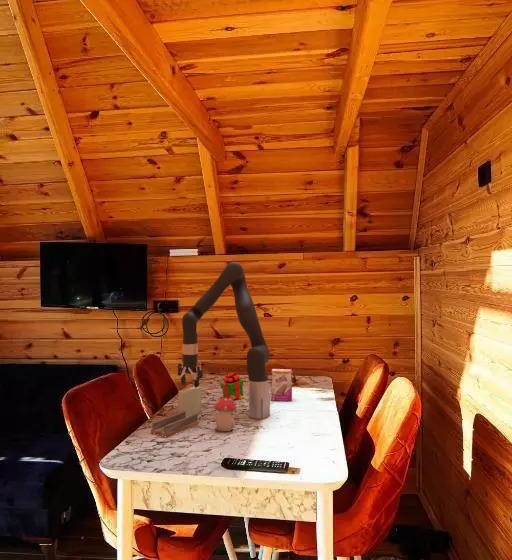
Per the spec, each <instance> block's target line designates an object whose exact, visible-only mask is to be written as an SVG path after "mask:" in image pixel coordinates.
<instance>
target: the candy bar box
mask: <svg viewBox="0 0 512 560" xmlns="http://www.w3.org/2000/svg"><path fill="white" fill-rule="evenodd" d="M270 380H271V381H270V382H271V390H270V391H271V395H270V402H292V400H293V369H283V368H281V369H280V368H272V369H271V379H270Z"/></svg>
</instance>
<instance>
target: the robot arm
mask: <svg viewBox="0 0 512 560" xmlns="http://www.w3.org/2000/svg"><path fill="white" fill-rule="evenodd" d="M245 273H246V272H245V270H244V267H243V266H242V264H240V263H239V262H236V261H231V262H229V263H227V264H226V266H225V267H224V269H223V270H222V272H221V273H220V275H219V276H218V277H217V279H216V280H215V281H214V283H213V284H211V285H210V287H209V288H207V290H206V291H205V292H204V293H203V294H202V296H200V298H199V299H198V300H197V301H196V302H195V304H194V305H193V306H192V307H191V308H190V309H188V311H187V312H185V314H183V315H182V319H181V320H182V321H181V323H182V348H181V352H182V353H181V357H182V358H181V362H180V363H177V376H179V377H180V384H181V385H182V386H184V385H186V380H187V379H186V378H187V377H186V376H187V374H189V375H191V376H192V377H193V379H194V383H193V384H194V386H193V387H195V388H197V387H200V379H203V377H204V376H203V365H198V361H199V348H198V347H199V346H198V332H197V323H198V322H199V321H200V320H201V318H203V317H204V315H205V314H206V313H208V311H209V310H211V308H212V307H213V306H214V305H215V304H216V303H217V302H218V300H219V298H220V297H221V296H222V295H223V293H224V291H225V290H226V289H227V288H228V287H229V286H231V289H232V293H233V297H234V306H235V310H236V316H237V318H238V322H239V324H240V326H241V328H242V329H243V330H244V332H245V334H246V335H247V337H248V339H249V343H250V346H251V348H250V349H248V350H247V353H246V373H247V376H248V417H249V418H251V419H255V420H256V419H257V420H258V419H261V420H265V419H267V418H268V417H270V416H271V395H269V374H268V373H267V372H266V363H268V361H269V360H270V356H271V354H270V349H269V347H268V345H267V342H266V339H265V338H264V334H263V331H262V327H261V324H260V321H259V318H258V313H257V309H256V308H255V304H254V301H253V299H252V296H251V294H250V292H249V289H248V284H247V279H246V274H245Z"/></svg>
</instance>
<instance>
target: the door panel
mask: <svg viewBox="0 0 512 560" xmlns="http://www.w3.org/2000/svg"><path fill="white" fill-rule="evenodd" d="M177 395H178V396H177V397H178V398H177V400H178V402H177V403H178V404H177V406H178V408H177V409H178V410H177V412H178V413H180V412H183V411H185V412H186V417H187V416H190V415H194V414H195V413H196V414H198V413H200V411H201V412H202V387H201V386H198V387H197V388H195V387H194V386H191V387H187V388H184V389H181V390H178V393H177Z"/></svg>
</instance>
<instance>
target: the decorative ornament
mask: <svg viewBox="0 0 512 560" xmlns="http://www.w3.org/2000/svg"><path fill="white" fill-rule="evenodd" d="M220 398H221V399H220ZM220 398H219V399H218V400H217V402H215V405H214V410H217V411H219V413H218V414H217V416H216V419H215V425H216V429H218V431H219V430H220V431H219V432H223V431H228V432H231V430H232V431H233V428H234V426H235V419H234V416H233V414H232V412H235V411H236V410H237V406H236V404H235V400H236V399H235V396H234V395H230V398H227V397H224V396H223V397H220Z"/></svg>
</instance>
